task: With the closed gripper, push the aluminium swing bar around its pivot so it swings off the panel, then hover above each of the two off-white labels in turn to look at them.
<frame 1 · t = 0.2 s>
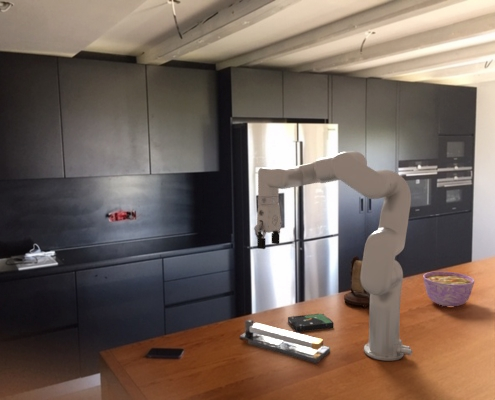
hand: (268, 246, 176), 31 cm above the kitchen island, tool pointing down, fingers open, 9 cm apart
label panel: (288, 347, 159), on the kitchen island
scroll: (361, 303, 202), on the kitchen island
bowl of food: (447, 304, 199), on the kitchen island
swing bar: (281, 335, 160), point 4 cm above the kitchen island, hinge at 0.0°
disk drive: (310, 326, 179), on the kitchen island
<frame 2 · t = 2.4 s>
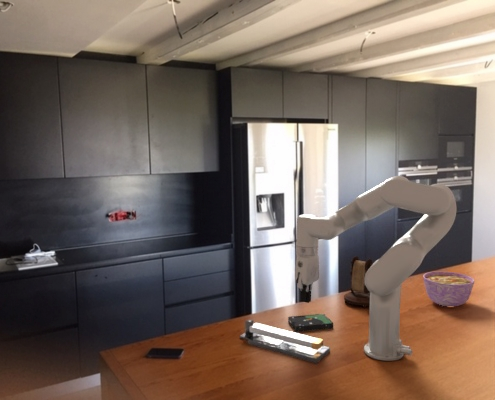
hand: (305, 301, 165), 14 cm above the kitchen island, tool pointing down, fingers closed
nothing on the kitchen island moved.
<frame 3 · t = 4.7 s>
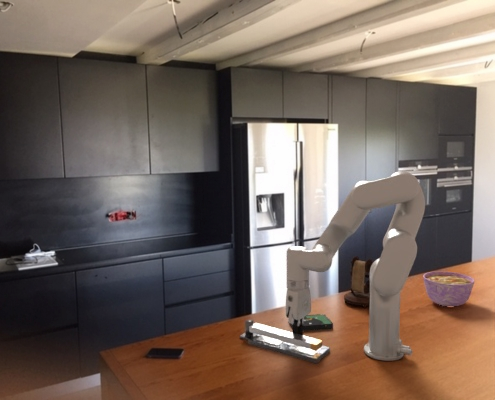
hand: (297, 335, 160), 4 cm above the kitchen island, tool pointing down, fingers closed
swing bar: (280, 336, 160), point 4 cm above the kitchen island, hinge at 1.7°, touching gripper
everything else where it was.
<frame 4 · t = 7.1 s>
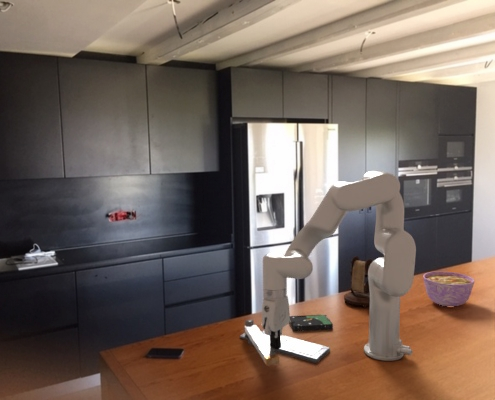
hand: (275, 347, 151), 4 cm above the kitchen island, tool pointing down, fingers closed
swing bar: (259, 342, 155), point 4 cm above the kitchen island, hinge at 40.7°, touching gripper
everything else where it was.
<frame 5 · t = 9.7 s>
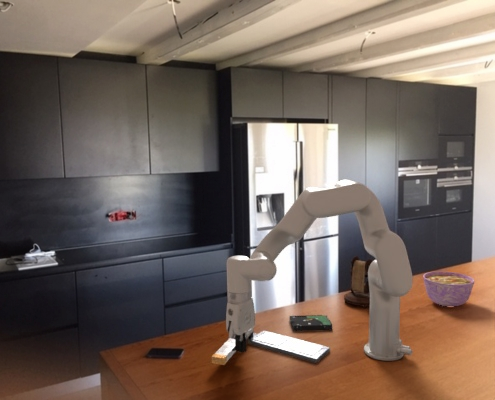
hand: (240, 351, 149), 3 cm above the kitchen island, tool pointing down, fingers closed
swing bar: (235, 342, 155), point 4 cm above the kitchen island, hinge at 75.1°, touching gripper
everything else where it was.
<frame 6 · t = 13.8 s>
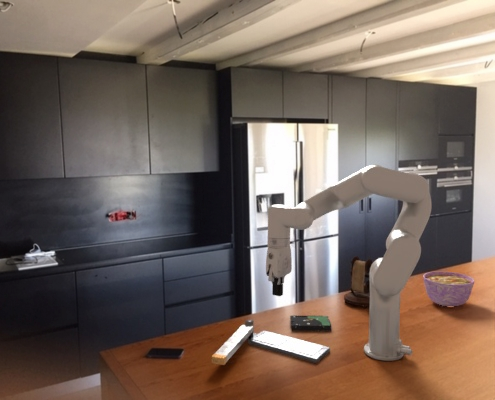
hand: (277, 294, 159), 18 cm above the kitchen island, tool pointing down, fingers closed
swing bar: (235, 342, 155), point 4 cm above the kitchen island, hinge at 75.1°
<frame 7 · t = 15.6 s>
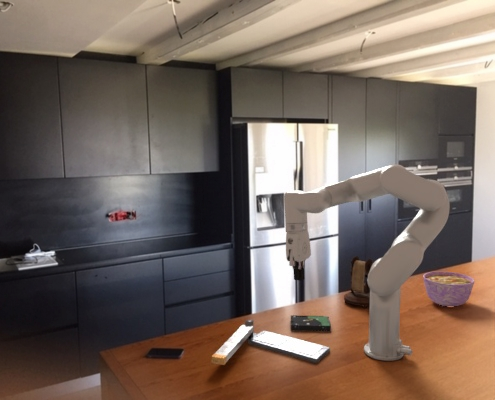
hand: (299, 279, 162), 22 cm above the kitchen island, tool pointing down, fingers closed
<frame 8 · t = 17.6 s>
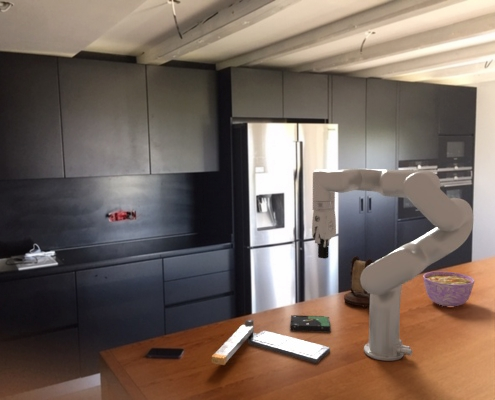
hand: (323, 257, 163), 29 cm above the kitchen island, tool pointing down, fingers closed
at the end: swing bar at +75° (first picture: +0°); disk drive moved 1.2 cm from its start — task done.
